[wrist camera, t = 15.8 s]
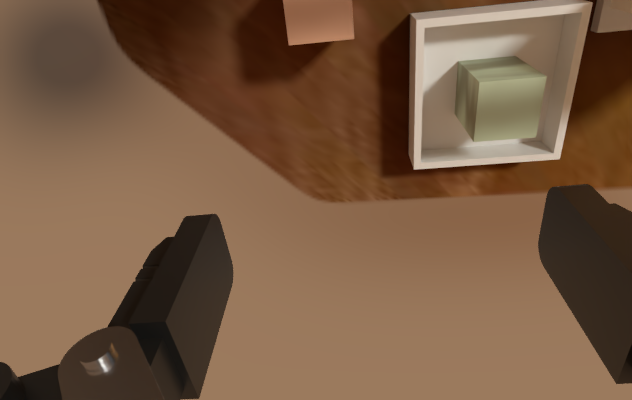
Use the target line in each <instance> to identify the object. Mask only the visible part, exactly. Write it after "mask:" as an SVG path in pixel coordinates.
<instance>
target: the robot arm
mask: <svg viewBox="0 0 632 400" xmlns="http://www.w3.org/2000/svg"><path fill="white" fill-rule="evenodd" d="M538 246H539V247H538V248H539V254H540V259H541V262H542V264H543V266H544V268H545V269H546V271H547V273H548V274H549V276H550V278H551V279H552V281H553V282H554V284H555V286H556V287H557V289H558V290H559V292H560V293H561V295H562V297H563V299H564V300H565V302H566V303H567V305H568V307H569V308H570V310H571V311H572V313H573V315H574V316H575V318H576V319H577V321H578V322H579V324H580V326H581V328H582V329H583V331H584V332H585V334H586V336H587V337H588V339H589V340H590V342H591V344H592V345H593V347H594V348H595V350H596V352H597V353H598V355H599V357H600V358H601V360H602V361H603V363H604V365H605V366H606V368H607V369H608V371H609V373H610V374H611V376H612V378H613V379H614V381H615V382H616V384H623V383H632V212H631V211H629V210H627V209H625V208H623V207H621V206H619V205H617V204H609V203H608V202H607V201H606V200H605V199H604V198H603V197H602V196H601V195H600V194H599V193H598V192H597V191H596V190H595V189H594V188H593V187H592V186H590V185H588V184H583V185H571V186H559V187H552V188H551V189H550V190H549V191H548V194H547V198H546V203H545V208H544V214H543V219H542V225H541V230H540V235H539V242H538ZM232 283H233V265H232V260H231V257H230V253H229V250H228V246H227V243H226V239H225V236H224V232H223V229H222V225H221V222H220V219H219V217H218V216H217V215H216V214H208V215H196V216H186V217H185V218H184V219H183V221H182V223H181V225H180V227H179V229H178V231H177V232H176V235H175V236H174V237H167V238H165V239H164V240H163V241H162V242H161V243H160V244H159V245H157V246H156V247H155V248H154V249H153V250H152V251H151V252H150V254H149V256H148V258H147V259H146V261H145V263H144V264H143V269H141V270H140V272H139V273H138V275H137V277H136V281H135V282H133V284H132V285H131V287H130V289H129V290H128V292H127V294H126V296H125V298H124V299H123V301H122V303H121V305H120V306H119V308H118V310H117V311H116V313H115V315H114V316H113V318H112V320H111V322H110V323H109V325H108V327H107V328H103V329H100V330H97V331H95V332H93V333H91V334H89V335H87V336H85V337H84V338H82V339H81V340H80V341H78V342H77V343H76V344H75V345H73V346H72V347H71V349H69V350H68V352H67V353H66V354H65V356H64V357H63V359H62V360H61V362H60V364H59V365H56V366H52V367H49V368H46V369H43V370H40V371H36V372H33V373H30V374H27V375H24V376H21V377H17V376H16V375H15V373H14V372H13V371H12V369H11V368H10V367H9V366H8V365H7V364H5V363H2V362H0V400H180V399H198V398H199V397H200V393H201V390H202V386H203V383H204V380H205V376H206V373H207V369H208V366H209V362H210V359H211V355H212V352H213V349H214V345H215V342H216V339H217V335H218V332H219V328H220V325H221V321H222V318H223V315H224V311H225V308H226V304H227V301H228V298H229V294H230V291H231V287H232Z"/></svg>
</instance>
